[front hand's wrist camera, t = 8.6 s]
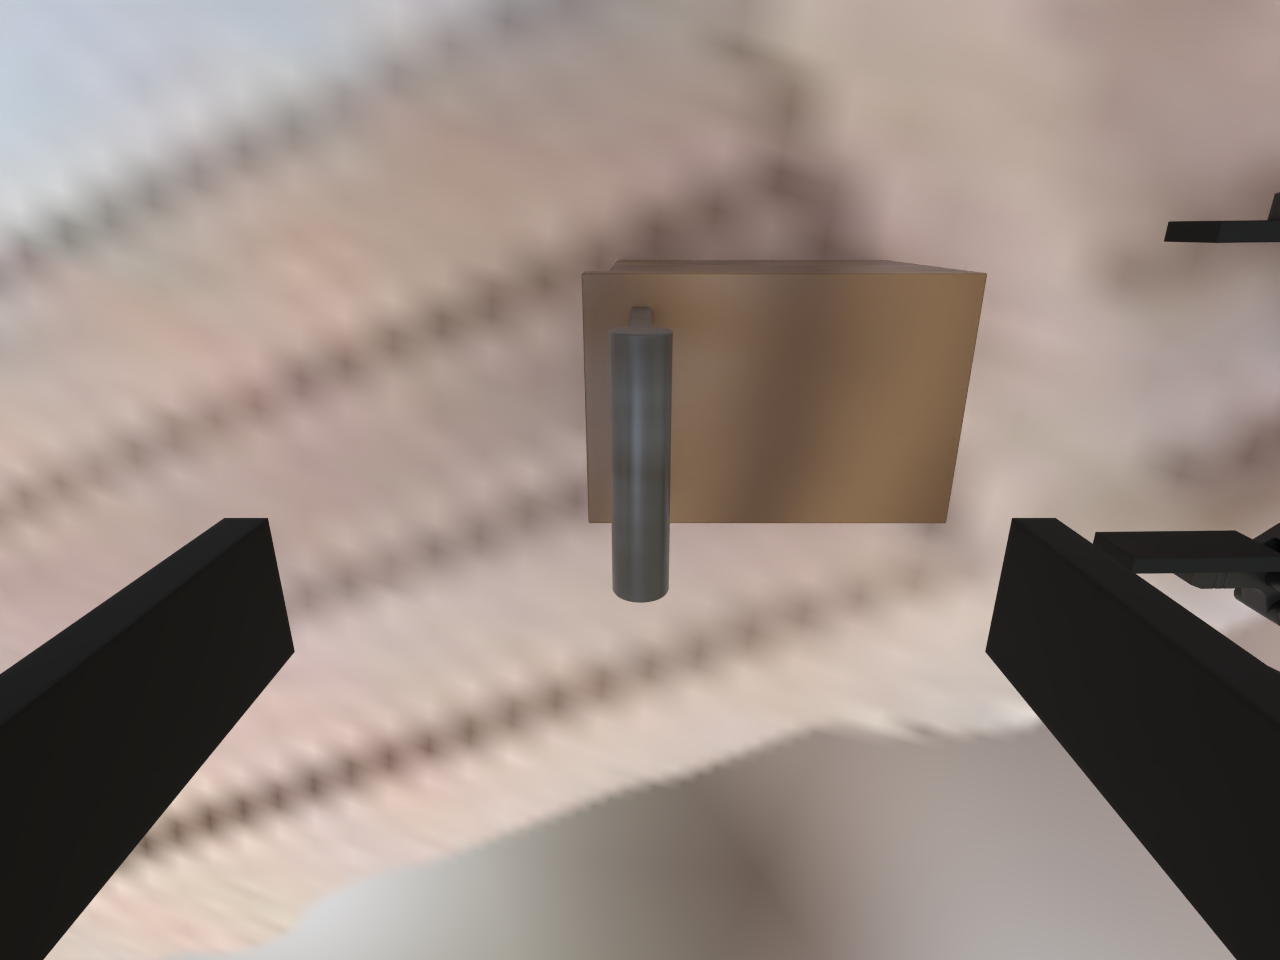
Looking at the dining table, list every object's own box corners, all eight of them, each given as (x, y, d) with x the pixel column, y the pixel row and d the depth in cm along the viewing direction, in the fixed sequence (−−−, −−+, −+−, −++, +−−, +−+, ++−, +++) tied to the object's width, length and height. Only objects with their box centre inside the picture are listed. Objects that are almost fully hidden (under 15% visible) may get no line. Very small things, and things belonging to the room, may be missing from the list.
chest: (618, 446, 36) (612, 511, 28) (616, 260, 33) (608, 271, 25) (866, 446, 36) (933, 511, 28) (888, 260, 33) (971, 271, 25)
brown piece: (590, 511, 28) (569, 633, 20) (584, 271, 25) (555, 293, 16) (933, 511, 28) (1060, 633, 20) (972, 271, 25) (1142, 293, 16)
